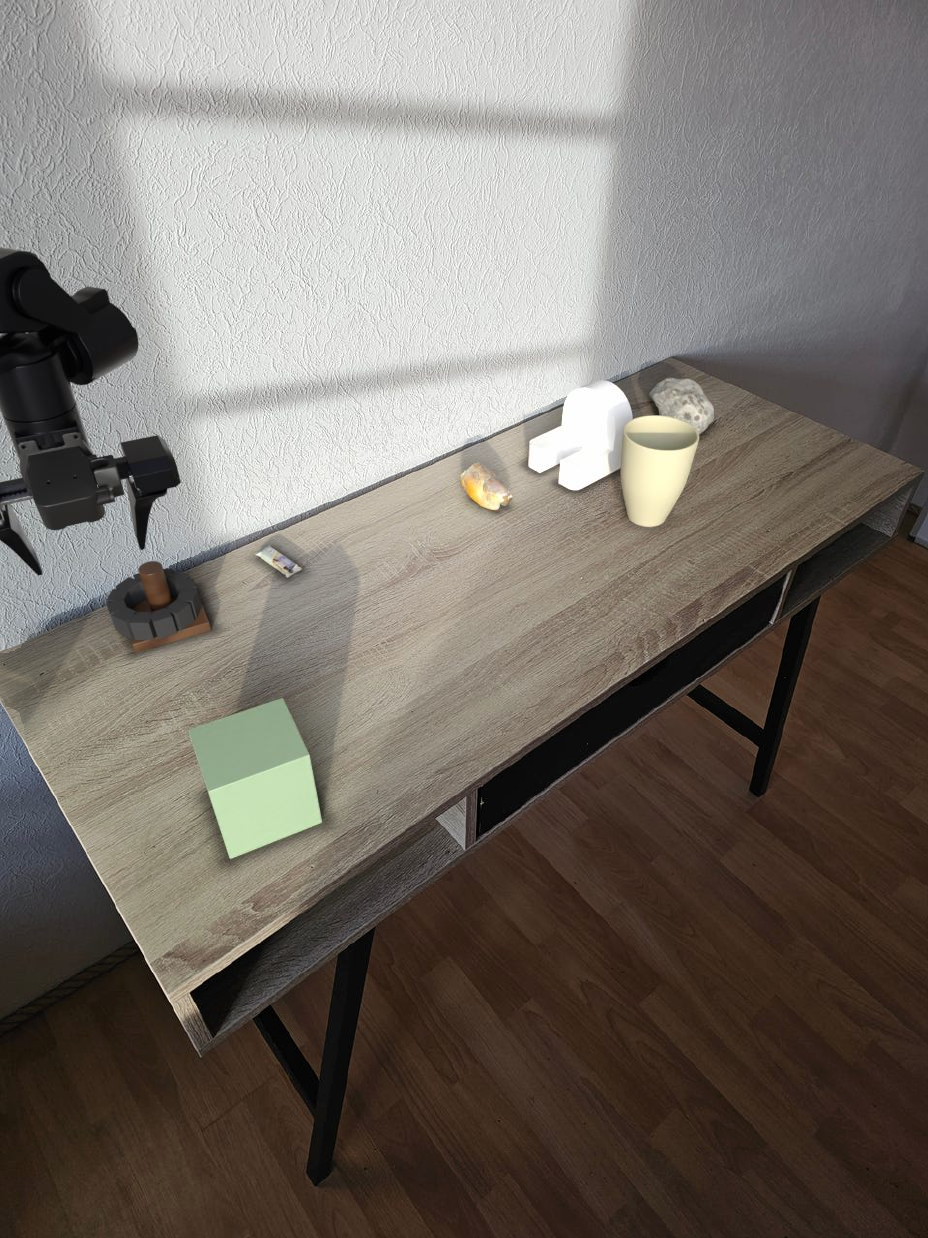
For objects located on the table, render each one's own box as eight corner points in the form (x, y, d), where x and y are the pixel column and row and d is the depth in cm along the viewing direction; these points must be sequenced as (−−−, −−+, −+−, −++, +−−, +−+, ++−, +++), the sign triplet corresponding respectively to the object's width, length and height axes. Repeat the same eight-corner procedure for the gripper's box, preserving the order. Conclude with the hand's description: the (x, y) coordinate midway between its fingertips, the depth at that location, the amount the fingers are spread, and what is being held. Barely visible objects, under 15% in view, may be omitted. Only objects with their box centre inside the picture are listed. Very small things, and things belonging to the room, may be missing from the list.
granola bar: (254, 556, 99) (252, 549, 98) (270, 548, 100) (268, 541, 99) (288, 581, 95) (286, 574, 95) (304, 572, 96) (303, 565, 96)
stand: (135, 653, 86) (116, 600, 81) (122, 609, 91) (104, 557, 87) (211, 630, 89) (197, 578, 84) (194, 589, 94) (180, 537, 90)
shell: (522, 503, 109) (521, 485, 104) (499, 526, 108) (497, 510, 103) (478, 469, 111) (475, 451, 107) (455, 491, 110) (452, 474, 106)
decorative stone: (627, 410, 128) (632, 379, 125) (679, 393, 133) (684, 364, 130) (682, 442, 121) (688, 411, 117) (735, 424, 125) (742, 393, 122)
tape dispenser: (524, 464, 116) (528, 393, 109) (608, 424, 125) (617, 356, 118) (574, 492, 110) (582, 418, 103) (658, 448, 119) (671, 378, 112)
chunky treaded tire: (123, 651, 85) (117, 633, 83) (105, 601, 91) (99, 584, 89) (211, 622, 88) (206, 605, 86) (188, 576, 94) (183, 559, 92)
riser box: (230, 859, 67) (208, 792, 62) (209, 797, 72) (187, 729, 66) (322, 823, 70) (310, 754, 64) (296, 765, 75) (283, 697, 69)
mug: (701, 520, 105) (721, 436, 97) (642, 544, 101) (658, 458, 93) (644, 482, 112) (658, 400, 104) (587, 503, 108) (597, 419, 100)
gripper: (-88, 476, 59) (-10, 638, 69) (174, 424, 66) (210, 579, 76) (-88, 414, 67) (-18, 568, 77) (147, 373, 73) (183, 520, 83)
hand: (92, 560), depth 78 cm, fingers open, 9 cm apart
